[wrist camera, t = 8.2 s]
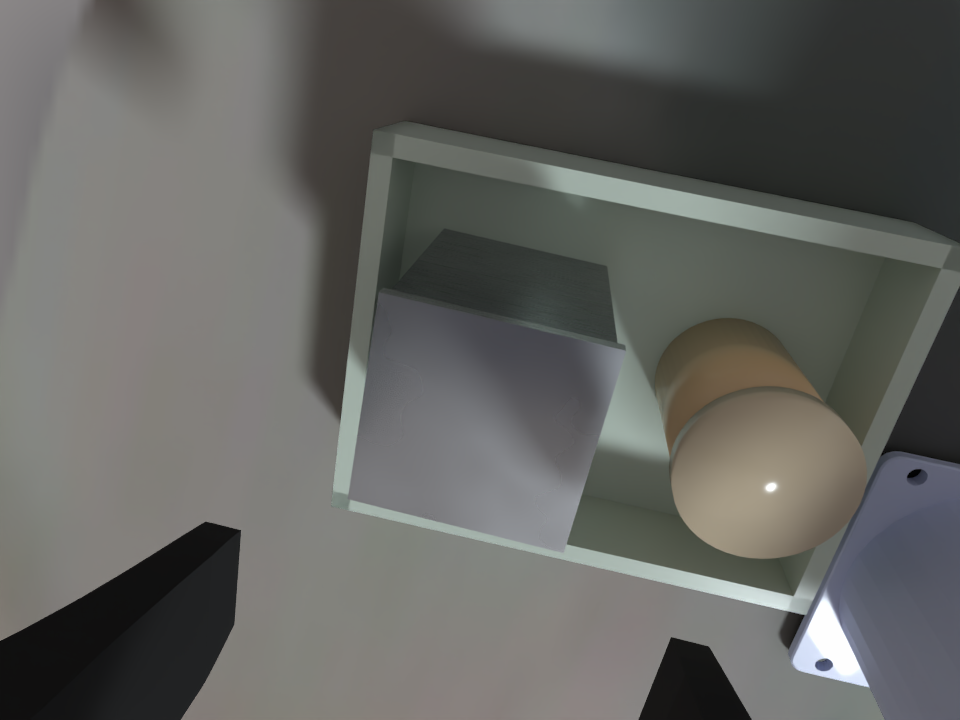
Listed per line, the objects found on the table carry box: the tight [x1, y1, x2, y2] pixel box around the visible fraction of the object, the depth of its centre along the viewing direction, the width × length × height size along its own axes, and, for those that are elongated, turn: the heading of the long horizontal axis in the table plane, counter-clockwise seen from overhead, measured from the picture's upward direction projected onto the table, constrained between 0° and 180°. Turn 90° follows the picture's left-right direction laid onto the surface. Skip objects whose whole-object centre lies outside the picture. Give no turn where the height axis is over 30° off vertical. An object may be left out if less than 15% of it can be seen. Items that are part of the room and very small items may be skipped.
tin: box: [348, 228, 626, 553], centre depth 17 cm, size 5×5×6 cm
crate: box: [331, 121, 960, 615], centre depth 19 cm, size 13×10×3 cm
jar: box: [655, 318, 867, 559], centre depth 17 cm, size 4×4×5 cm
